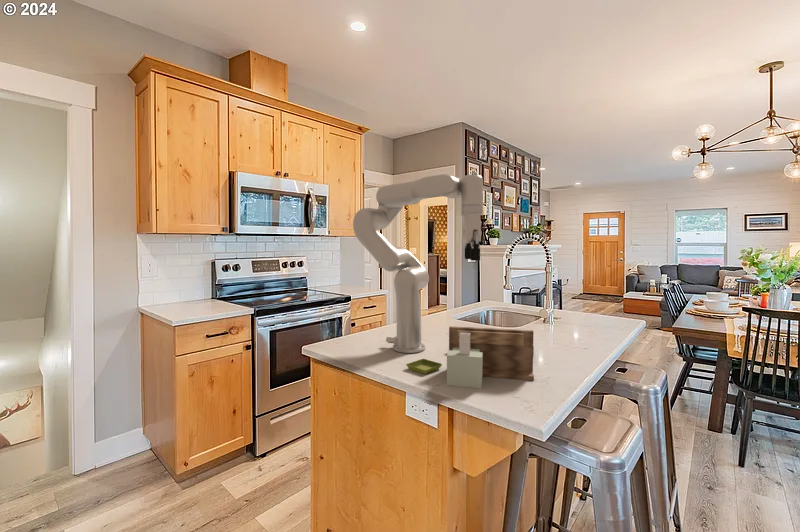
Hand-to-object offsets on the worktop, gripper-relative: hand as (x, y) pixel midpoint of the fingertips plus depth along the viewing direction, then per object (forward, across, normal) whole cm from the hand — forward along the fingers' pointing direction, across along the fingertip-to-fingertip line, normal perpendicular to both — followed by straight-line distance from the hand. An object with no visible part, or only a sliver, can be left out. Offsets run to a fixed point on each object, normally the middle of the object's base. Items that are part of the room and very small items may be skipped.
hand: (472, 259), depth 141 cm
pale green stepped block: (+35, +24, -8) cm, 43 cm away
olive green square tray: (+36, +12, -19) cm, 42 cm away
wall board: (+35, +18, +1) cm, 40 cm away
